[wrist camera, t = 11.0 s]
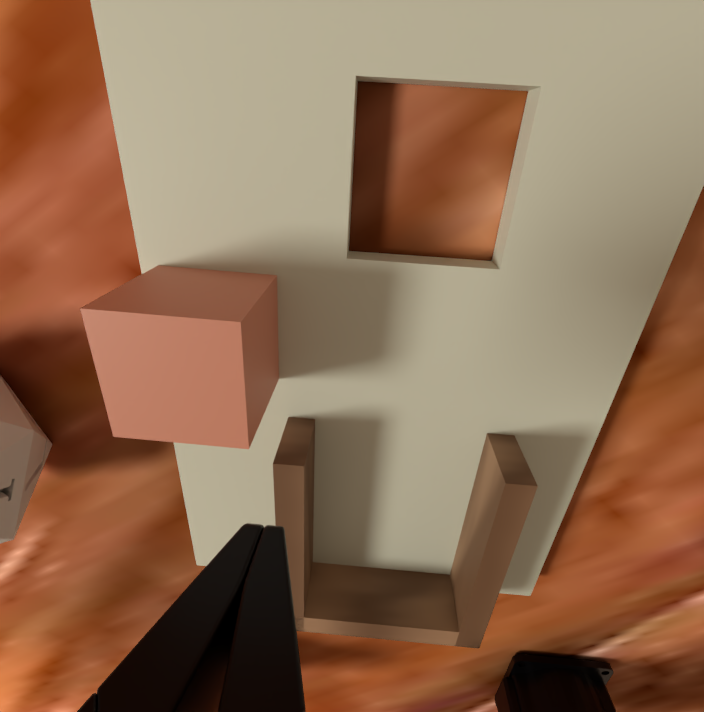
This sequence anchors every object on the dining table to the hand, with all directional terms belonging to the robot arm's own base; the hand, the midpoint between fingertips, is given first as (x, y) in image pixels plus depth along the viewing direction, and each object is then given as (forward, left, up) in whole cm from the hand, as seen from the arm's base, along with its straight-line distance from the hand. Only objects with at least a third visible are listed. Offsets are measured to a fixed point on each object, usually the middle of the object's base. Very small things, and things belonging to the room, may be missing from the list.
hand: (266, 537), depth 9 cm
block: (+4, -1, -9) cm, 10 cm away
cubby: (-4, +9, -9) cm, 13 cm away
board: (-3, +2, -10) cm, 11 cm away
